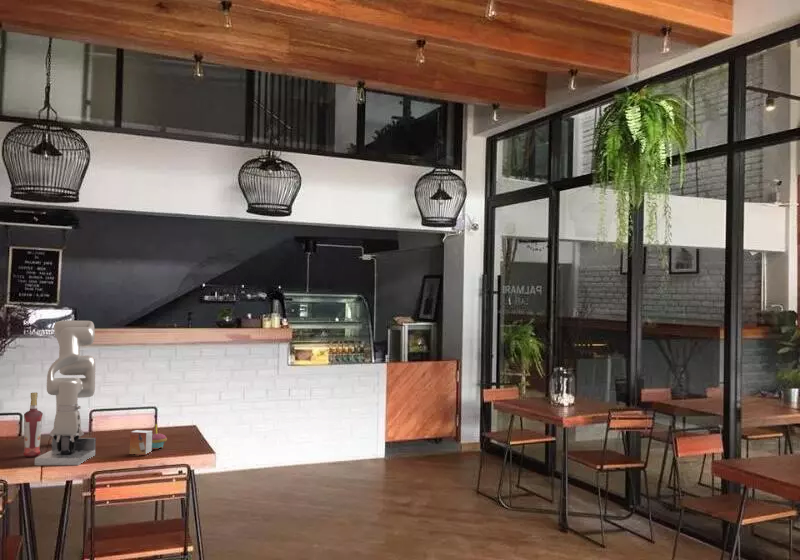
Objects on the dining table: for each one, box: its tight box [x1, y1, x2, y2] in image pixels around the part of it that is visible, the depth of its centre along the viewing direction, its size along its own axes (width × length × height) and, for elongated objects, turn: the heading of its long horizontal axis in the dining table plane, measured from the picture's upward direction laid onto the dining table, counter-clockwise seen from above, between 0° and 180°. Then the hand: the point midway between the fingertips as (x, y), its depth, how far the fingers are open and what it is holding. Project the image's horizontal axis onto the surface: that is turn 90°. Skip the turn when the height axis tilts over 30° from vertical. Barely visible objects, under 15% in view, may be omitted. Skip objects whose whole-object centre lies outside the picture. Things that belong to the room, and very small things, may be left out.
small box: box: [128, 429, 153, 454], centre depth 305 cm, size 8×6×10 cm
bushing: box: [60, 435, 72, 455], centre depth 291 cm, size 4×4×8 cm
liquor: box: [22, 392, 44, 458], centre depth 298 cm, size 7×7×28 cm
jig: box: [34, 437, 97, 466], centre depth 291 cm, size 18×18×8 cm
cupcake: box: [152, 423, 168, 448], centre depth 317 cm, size 9×8×12 cm
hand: (66, 450), depth 291 cm, fingers closed on bushing, 4 cm apart
